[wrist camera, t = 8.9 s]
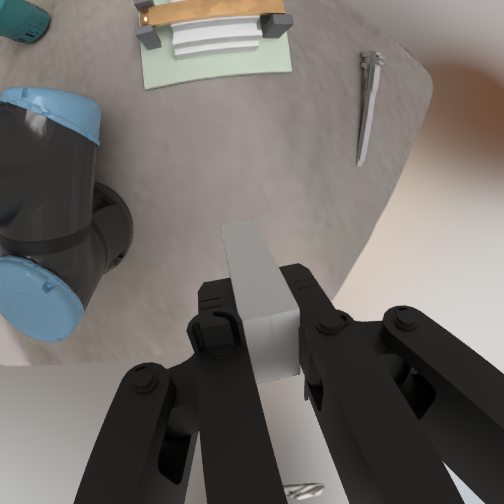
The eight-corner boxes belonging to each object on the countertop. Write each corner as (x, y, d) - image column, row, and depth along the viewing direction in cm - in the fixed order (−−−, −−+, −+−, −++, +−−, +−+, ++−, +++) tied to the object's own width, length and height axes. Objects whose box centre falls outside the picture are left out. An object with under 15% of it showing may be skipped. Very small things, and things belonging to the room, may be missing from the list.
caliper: (358, 53, 35) (379, 47, 29) (364, 55, 35) (385, 49, 29) (354, 166, 44) (374, 173, 38) (360, 166, 44) (380, 174, 39)
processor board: (146, 90, 33) (131, 82, 25) (140, -6, 25) (126, -32, 17) (288, 73, 35) (311, 61, 27) (275, -20, 27) (292, -47, 19)
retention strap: (145, 35, 26) (139, 27, 23) (144, 18, 24) (138, 9, 21) (278, 21, 28) (285, 12, 24) (275, 4, 26) (282, -6, 23)
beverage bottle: (48, 6, 21) (-15, -27, 3) (59, 26, 24) (-9, -7, 6) (21, 32, 21) (-48, 13, 4) (31, 53, 24) (-44, 37, 7)
